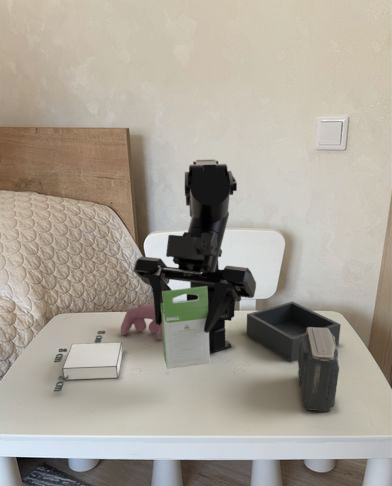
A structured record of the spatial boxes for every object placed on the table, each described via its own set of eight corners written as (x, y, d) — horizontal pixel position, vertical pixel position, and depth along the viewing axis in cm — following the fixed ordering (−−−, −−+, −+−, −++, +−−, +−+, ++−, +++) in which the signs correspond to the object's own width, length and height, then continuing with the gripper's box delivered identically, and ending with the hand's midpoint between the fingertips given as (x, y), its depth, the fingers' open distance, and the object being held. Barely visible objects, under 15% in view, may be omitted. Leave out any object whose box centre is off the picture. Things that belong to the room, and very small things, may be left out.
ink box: (205, 352, 85) (203, 276, 79) (210, 365, 82) (208, 286, 75) (163, 357, 84) (158, 280, 78) (166, 370, 81) (160, 291, 74)
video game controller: (170, 341, 108) (174, 307, 108) (162, 340, 104) (166, 305, 104) (127, 335, 111) (131, 302, 111) (117, 334, 107) (122, 300, 107)
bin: (246, 334, 107) (246, 313, 105) (291, 321, 112) (292, 301, 110) (291, 361, 96) (292, 339, 94) (338, 345, 101) (340, 324, 99)
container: (114, 394, 87) (113, 380, 86) (46, 397, 87) (43, 383, 86) (125, 341, 105) (124, 329, 104) (68, 343, 105) (66, 331, 104)
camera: (335, 414, 80) (342, 357, 76) (298, 412, 81) (302, 355, 77) (329, 377, 91) (334, 325, 86) (295, 375, 91) (299, 324, 87)
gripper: (133, 205, 78) (104, 301, 75) (252, 214, 72) (227, 319, 68) (158, 240, 88) (134, 326, 85) (265, 250, 82) (244, 343, 78)
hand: (181, 328), depth 79 cm, fingers closed on ink box, 8 cm apart
